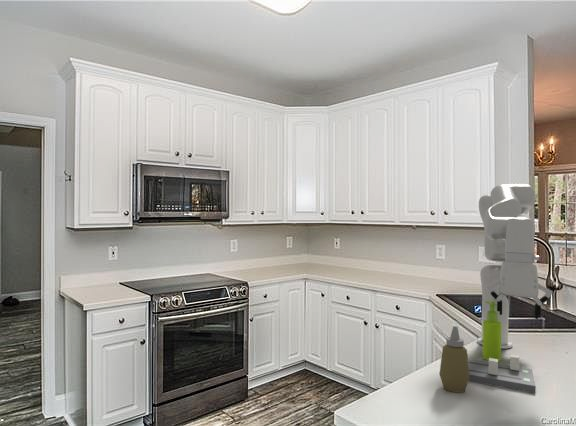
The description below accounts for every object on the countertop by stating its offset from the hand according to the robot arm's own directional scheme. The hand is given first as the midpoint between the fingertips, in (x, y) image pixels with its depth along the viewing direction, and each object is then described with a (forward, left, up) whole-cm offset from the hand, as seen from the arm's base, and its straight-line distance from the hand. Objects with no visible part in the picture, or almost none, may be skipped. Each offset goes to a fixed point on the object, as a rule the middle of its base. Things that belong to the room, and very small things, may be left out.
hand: (518, 316), depth 126 cm
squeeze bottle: (+13, -16, -21) cm, 30 cm away
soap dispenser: (-24, -7, -21) cm, 33 cm away
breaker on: (-8, 0, -18) cm, 20 cm away
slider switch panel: (-4, -6, -21) cm, 22 cm away
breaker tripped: (0, -6, -18) cm, 19 cm away
